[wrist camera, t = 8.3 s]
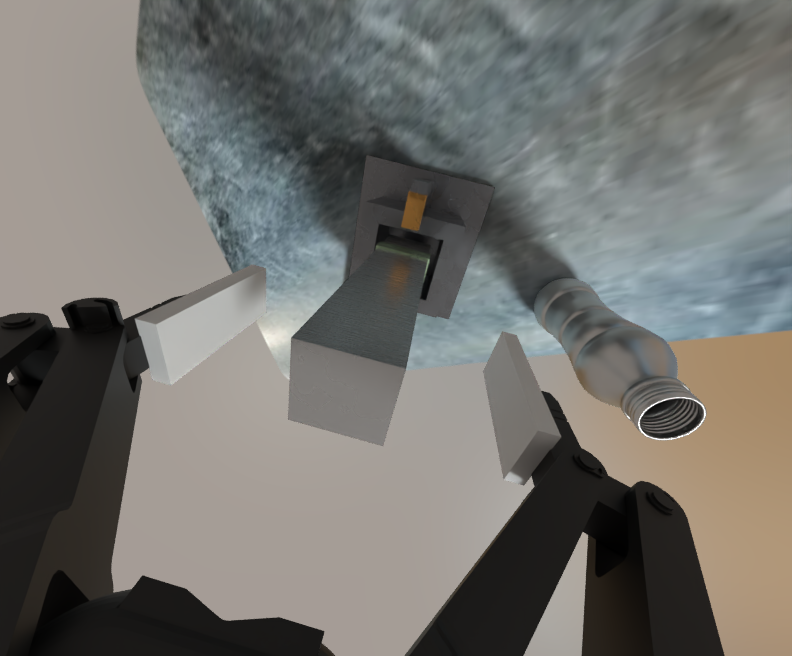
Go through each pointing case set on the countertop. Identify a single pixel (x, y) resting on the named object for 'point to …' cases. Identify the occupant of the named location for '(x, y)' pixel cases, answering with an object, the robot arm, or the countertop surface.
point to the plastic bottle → (619, 360)
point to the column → (359, 345)
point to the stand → (422, 223)
